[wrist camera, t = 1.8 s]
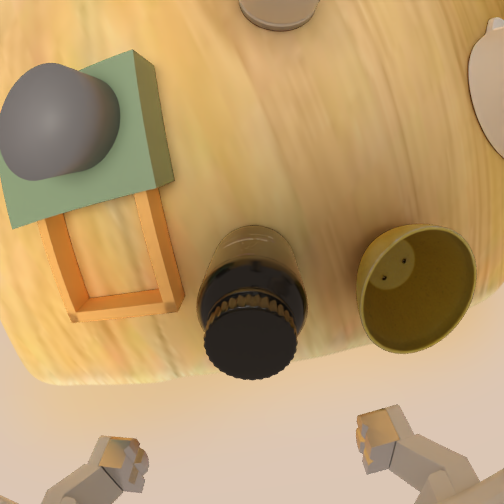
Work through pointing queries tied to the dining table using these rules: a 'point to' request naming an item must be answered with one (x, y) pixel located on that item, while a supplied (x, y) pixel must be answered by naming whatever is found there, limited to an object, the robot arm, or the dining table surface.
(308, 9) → the travel mug
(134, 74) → the green block with knob
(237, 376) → the supplement bottle
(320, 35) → the dining table surface
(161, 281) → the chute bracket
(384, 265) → the flower pot
